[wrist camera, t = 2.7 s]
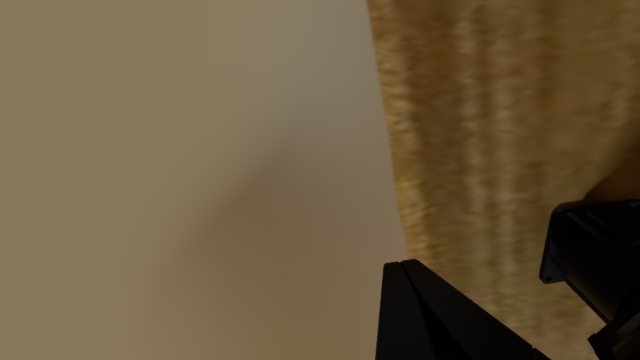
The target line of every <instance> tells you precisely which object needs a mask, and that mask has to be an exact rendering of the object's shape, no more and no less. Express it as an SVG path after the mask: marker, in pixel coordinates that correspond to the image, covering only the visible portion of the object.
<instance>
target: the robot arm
mask: <svg viewBox="0 0 640 360" xmlns="http://www.w3.org/2000/svg"><path fill="white" fill-rule="evenodd" d="M559 218H560V219H559ZM539 278H540V280H541V281H542V282H543V283H545V284H550V283H556V282H562V281H565V282H566V283H567V284H568V285H569V286H570V287H571V288H572V290H573V291H574V292H575V293H576V294H577V295H578V296H579V297H580V298H581V299H582V300H583V301H584V302H585V303H586V304H587V305H588V306H589V307H590V308H591V309H592V310H593V311H594V312H595V313H596V314H597V315H598V316H599V317H600V318H601V319H602V320H603V321H604V322H605V323H606V325H605V326H604V327H603V328H602V329H601V330H600V331H598V332H597V333H596V334H594V333H593V334H592V335H591V336H590V337H589V338H588V339H587V340H588V341H589V343H590V344H591V346H592V347H593V349H594V350H595V351H594V352H595V354H596V355H597V357H598V358H599V360H640V200H639V199H632V200H626V201H619V202H613V203H607V204H600V205H594V206H588V207H581V208H575V209H569V210H562V211H558V212H555V213H554V214H553V215H552V217H551V220H550V225H549V230H548V235H547V240H546V245H545V250H544V255H543V260H542V265H541V270H540V275H539ZM375 360H551V359H550V358H548V357H547V356H546V355H544V354H543V353H542V352H540V351H539V350H537V349H536V348H533V349H532V345H531V344H529V343H528V342H527V341H525V340H524V339H523V338H521V337H520V336H519V335H517V334H516V333H515V332H513V331H512V330H511V329H509V328H508V327H507V326H505V325H504V324H502V323H501V322H500V321H498V320H497V319H496V318H494V317H493V316H492V315H490V314H489V313H488V312H486V311H485V310H484V309H482V308H481V307H480V306H478V305H477V304H476V303H474V302H473V301H472V300H470V299H469V298H468V297H466V296H465V295H464V294H462V293H461V292H460V291H458V290H457V289H456V288H454V287H453V286H452V285H450V284H449V283H448V282H446V281H445V280H444V279H442V278H441V277H440V276H438V275H437V274H436V273H434V272H433V271H432V270H430V269H429V268H428V267H426V266H425V265H424V264H422V263H421V262H420V261H418V260H416V259H410V260H403V261H401V262H400V263H399V262H390V263H385V264H384V267H383V278H382V289H381V300H380V311H379V323H378V334H377V344H376V355H375Z"/></svg>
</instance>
